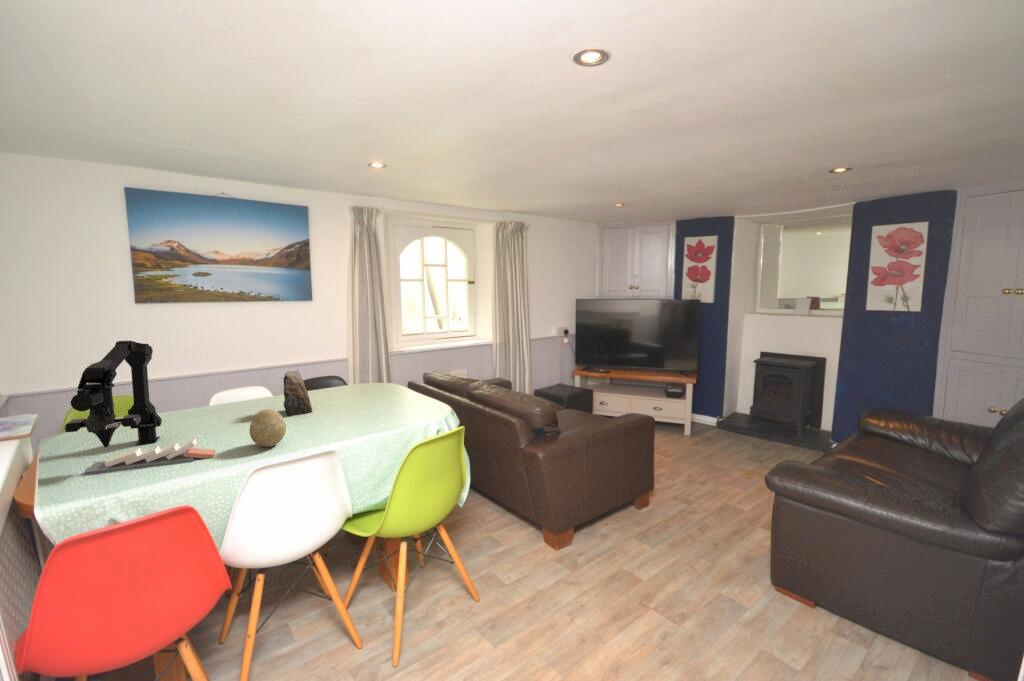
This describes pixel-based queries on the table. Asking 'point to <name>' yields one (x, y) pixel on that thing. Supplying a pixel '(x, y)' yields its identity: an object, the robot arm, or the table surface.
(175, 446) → the domino
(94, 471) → the board
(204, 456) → the brick domino
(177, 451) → the domino
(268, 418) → the fossilized egg
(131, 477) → the table surface
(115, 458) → the domino
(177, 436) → the table surface
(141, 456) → the domino
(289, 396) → the tapered brown rock
